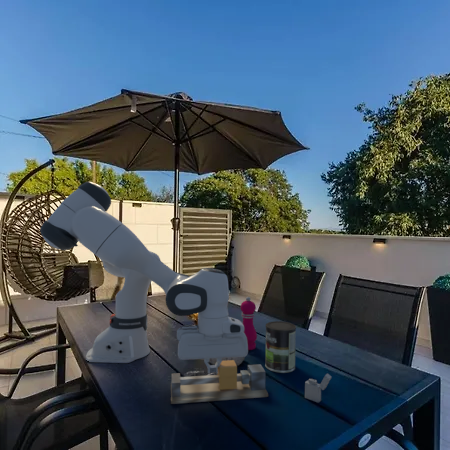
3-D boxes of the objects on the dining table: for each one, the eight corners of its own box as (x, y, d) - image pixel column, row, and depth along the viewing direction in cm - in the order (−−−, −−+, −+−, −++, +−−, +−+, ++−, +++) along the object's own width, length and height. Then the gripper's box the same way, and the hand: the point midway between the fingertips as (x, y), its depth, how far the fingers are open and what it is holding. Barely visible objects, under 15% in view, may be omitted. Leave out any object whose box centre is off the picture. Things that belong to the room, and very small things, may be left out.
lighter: (304, 397, 93) (304, 369, 93) (307, 395, 94) (307, 367, 94) (329, 406, 88) (329, 376, 88) (331, 404, 90) (331, 374, 90)
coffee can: (275, 375, 107) (275, 331, 107) (259, 363, 116) (260, 322, 116) (301, 370, 111) (302, 327, 111) (284, 358, 120) (284, 319, 120)
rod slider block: (171, 403, 89) (171, 381, 89) (171, 386, 99) (171, 366, 99) (268, 396, 93) (268, 375, 93) (258, 380, 103) (259, 361, 103)
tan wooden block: (219, 389, 93) (219, 367, 93) (217, 381, 98) (217, 360, 98) (236, 388, 94) (237, 366, 94) (233, 380, 99) (233, 360, 99)
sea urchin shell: (239, 354, 124) (240, 332, 124) (248, 369, 111) (248, 345, 111) (204, 356, 122) (205, 334, 122) (209, 372, 109) (209, 347, 109)
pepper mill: (255, 351, 127) (256, 299, 127) (237, 349, 128) (237, 298, 128) (257, 344, 134) (258, 295, 134) (240, 343, 135) (240, 294, 135)
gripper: (176, 329, 91) (176, 379, 91) (249, 326, 94) (249, 375, 94) (176, 322, 97) (176, 369, 97) (244, 320, 100) (244, 366, 100)
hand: (212, 372), depth 95 cm, fingers closed
